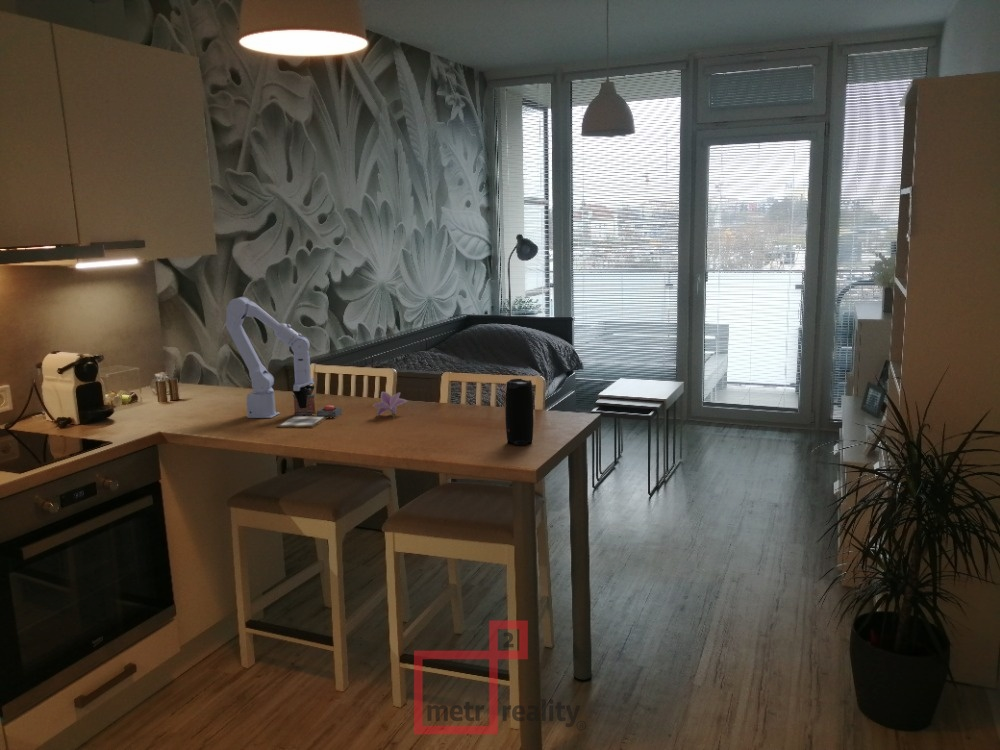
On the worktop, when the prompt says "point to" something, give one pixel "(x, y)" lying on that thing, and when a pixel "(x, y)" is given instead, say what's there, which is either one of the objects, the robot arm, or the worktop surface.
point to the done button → (329, 407)
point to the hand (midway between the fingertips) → (304, 406)
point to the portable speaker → (519, 412)
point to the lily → (389, 403)
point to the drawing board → (302, 421)
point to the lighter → (309, 405)
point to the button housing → (330, 412)
